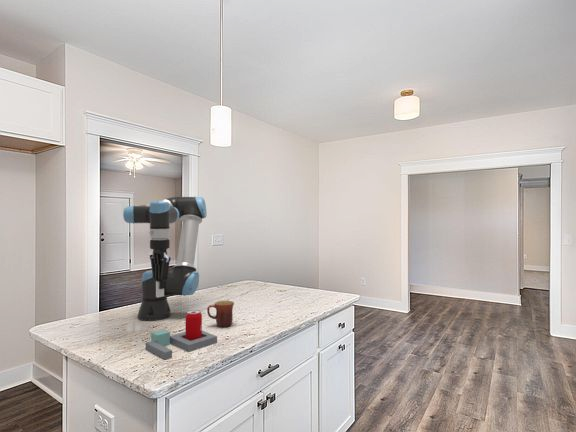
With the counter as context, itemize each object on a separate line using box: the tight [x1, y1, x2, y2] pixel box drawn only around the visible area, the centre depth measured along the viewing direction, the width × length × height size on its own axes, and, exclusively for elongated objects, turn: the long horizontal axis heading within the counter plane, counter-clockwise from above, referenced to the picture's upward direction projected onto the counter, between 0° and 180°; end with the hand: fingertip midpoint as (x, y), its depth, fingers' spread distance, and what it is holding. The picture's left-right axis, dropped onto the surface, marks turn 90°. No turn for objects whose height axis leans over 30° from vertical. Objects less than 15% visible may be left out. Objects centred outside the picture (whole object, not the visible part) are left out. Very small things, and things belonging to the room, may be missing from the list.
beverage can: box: [185, 309, 203, 341], centre depth 133 cm, size 6×6×12 cm
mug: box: [206, 300, 235, 328], centre depth 154 cm, size 12×9×10 cm
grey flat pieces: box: [145, 330, 218, 360], centre depth 129 cm, size 14×22×2 cm, turn 139°
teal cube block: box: [150, 328, 171, 347], centre depth 130 cm, size 5×5×5 cm
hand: (160, 296), depth 138 cm, fingers closed
